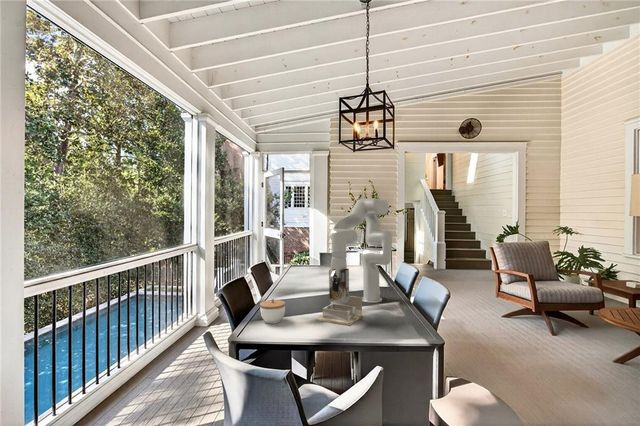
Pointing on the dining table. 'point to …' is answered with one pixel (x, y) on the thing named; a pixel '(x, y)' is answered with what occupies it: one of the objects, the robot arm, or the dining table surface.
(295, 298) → the dining table surface
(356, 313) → the open wooden box
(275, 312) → the lidded bowl
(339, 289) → the coffee box
